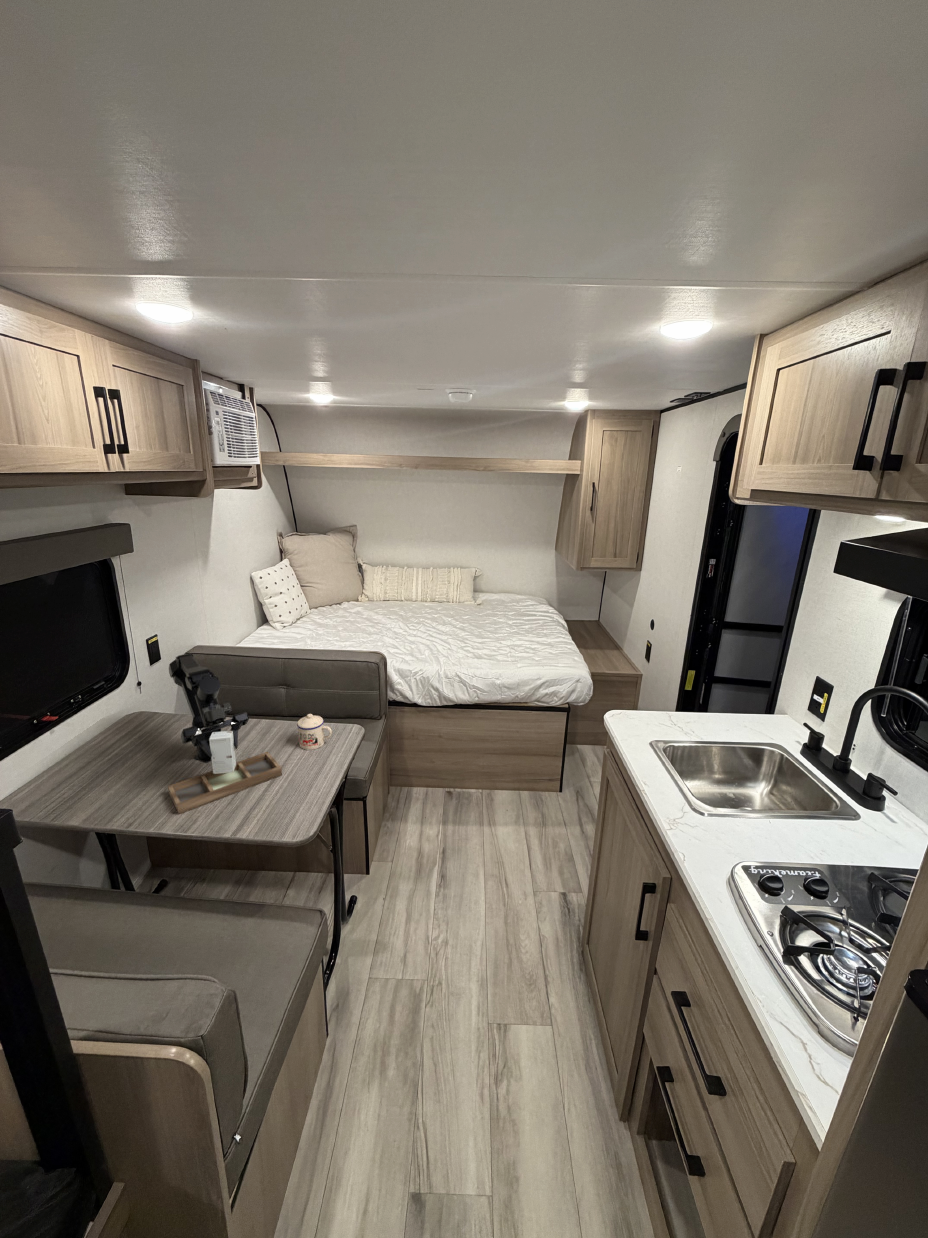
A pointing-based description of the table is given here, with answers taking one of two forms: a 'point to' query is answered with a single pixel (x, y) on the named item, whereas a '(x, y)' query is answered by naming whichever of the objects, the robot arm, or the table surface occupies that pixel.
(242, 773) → the three bay box
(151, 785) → the table surface
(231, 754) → the skincare box
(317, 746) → the teacup with lid
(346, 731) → the table surface
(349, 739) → the table surface
